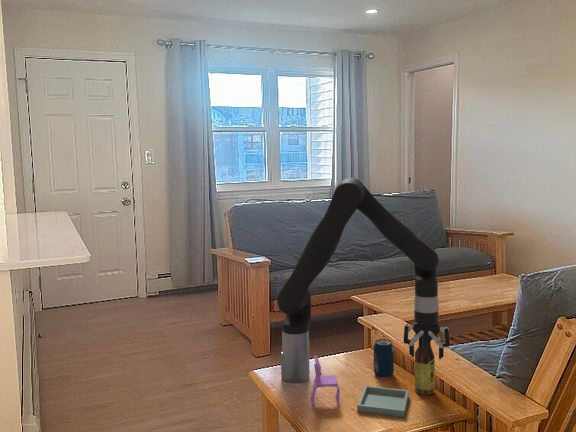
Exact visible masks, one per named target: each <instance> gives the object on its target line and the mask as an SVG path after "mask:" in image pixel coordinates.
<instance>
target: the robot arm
mask: <svg viewBox="0 0 576 432" xmlns="http://www.w3.org/2000/svg"><path fill="white" fill-rule="evenodd" d="M357 210H358V211H360V212H361V213H362V214H363V215H364V216H366V218H367V219H368V220H370V222H371V223H372V224H373V225H374V227H375V228H376V229H377V230H378V231H379V233H380V234H381V235H382V236H383V237H384V238H385V239H386V240H387V241H388V242H389V243H391V244H392V245H393V246H395V248H397V249H398V250H399V251H401V252H402V253H403V254H404V255H405V256H406V257H407V258H408V259H409V260H410V261H411V262H412V263H413V266H414V275H415V277H414V278H415V281H414V299H413V300H414V301H413V302H414V303H413V308H414V309H413V310H414V311H413V315H414V316H413V317H414V319H413V320H414V324H413V325H412V324H409V323H405V325H404V330H403V344H406V345H408V348H409V355H410V356H411V358H415V343H416V342H418V341H419V338H420V339H421V340H423V339H422V338H421V337H422V335H423V334H425V335H426V336H427V339H426V340H431V341H433V342H435V344H436V345H438V360H442V359H443V358H444V348H449V347H450V344H451V343H450V341H451V339H450V330H449V329H450V328H449V326H447V325H446V326H444V327H440V325H439V321H440V320H439V319H440V318H439V314H440V313H439V308H440V305H439V295H438V294H439V291H438V290H439V289H438V288H439V283H438V279H437V267H438V265H439V262H440V259H439V255H438V253H437V252H436V250H435V249H434V248H433V247H432V246H430V245H428V244H426V243H425V242H424V241H422V240H421V239H420V238H419V237H418V236H417V235H416V234H415V233H414V231H413V230H411V229H410V228H409V227H407V226H406V225H405V224H404V223H403V222H402V221H400V220H399V219H398V218H397V217H396V216H394V214H393V213H391V212H390V211H389V210H388V209H386V207H385V206H383V205H382V203H381V202H380V201H378V200H377V198H376V197H375V196H374V195H373V193H371V192H370V190H369V189H368V188H367V187H366V186H365V185H364V184H363V182H362V181H361V180H360V179H358V178H355V177H346V178H344V179H342V180H341V181H340V182H339V183H338V184H337V186H336V188H335V189H334V192H333V194H332V198H331V200H330V202H329V205H328V207H327V209H326V212H325V214H324V216H323V218H322V219H321V221H319V223H318V224H317V226H315V229H314V230H313V232H312V234H311V235H310V236H309V239H308V241H307V243H306V244H305V246H304V248H303V250H302V253H301V255H300V256H299V258H298V260H297V263H296V265H295V267H294V268H293V270H292V273H291V275H290V276H289V278H288V279H287V281H286V282H285V284H284V285H283V287H281V289H280V291H279V292H278V293H277V298H276V303H277V307H278V310H280V312H282V313H283V314H285V317H284V319H283V321H282V323H281V335H282V336H281V339H282V345H281V346H282V351H281V353H280V370H281V371H280V372H281V373H280V375H281V380H284V381H286V382H288V383H293V384H296V383H297V384H298V383H304V382H307V381H309V380H310V377H311V376H310V337H309V336H310V332H309V330H310V329H309V328H310V327H309V326H310V323H311V315H312V312H311V311H312V300H311V299H312V297H311V292H310V290H309V287H310V286H311V284H312V283H313V281H315V279H316V278H317V277H318V276H319V275H320V274H321V273H322V272H323V270H324V269H325V268H326V267H327V265H328V263H329V262H330V261H331V259H332V257H333V255H334V254H335V252H336V250H337V247H338V245H339V243H340V241H341V238H342V235H343V231H344V229H345V227H346V226H347V224H348V222H349V221H350V219H351V218H352V216H353V215H354V213H355V212H356V211H357ZM412 331H413V332H414V333H415V334H414V335H413V337H412V338H411V339H409V333H410V332H412ZM440 332H441V333H442V335H444V340H445V341H443V340H442V339H441V337H440V336H439V334H440Z"/></svg>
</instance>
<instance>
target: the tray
mask: <svg viewBox="0 0 576 432" xmlns="http://www.w3.org/2000/svg"><path fill="white" fill-rule="evenodd" d="M409 391H410V390H407V389H401V388H400V389H399V388H390V387H379V386H370V385H364V388H363V390H362V393H361V396H360V397H359V399H358V403H357V404H356V405H357V406H356V412H357V413H362V414H363V413H364V414H369V415H376V416H386V417H396V418H402V419H405V417H406V412H407V407H408V402H409V397H410V396H409V395H410V392H409Z"/></svg>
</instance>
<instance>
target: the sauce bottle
mask: <svg viewBox="0 0 576 432" xmlns="http://www.w3.org/2000/svg"><path fill="white" fill-rule="evenodd" d="M421 338H422V339H423V340H421V339H420V338H419V339H418V346H417V348H416V349H415V351H414V390H415V393H417V394H419V395H421V396H423V395H424V396H430V395H432V394H434V392H435V369H436V367H435V362H436V361H435V354H434V351H433V349H432V346H431V341H432V340H426V339H427V336H426V335H425V334H423V335H422V337H421Z"/></svg>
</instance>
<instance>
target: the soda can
mask: <svg viewBox="0 0 576 432" xmlns="http://www.w3.org/2000/svg"><path fill="white" fill-rule="evenodd" d="M394 351H395V350H394V344H393V342H392V340H390V339H386V338H384V339H383V338H380V339H376V340H375V341H374V345H373V373H374V374H375V376H376V377H378V378H380V379H389V378H391V377H392V376H393V374H394V371H395V369H394V367H395V365H394V364H395V363H394V362H395V361H394V358H395V355H394V354H395V352H394Z"/></svg>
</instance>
